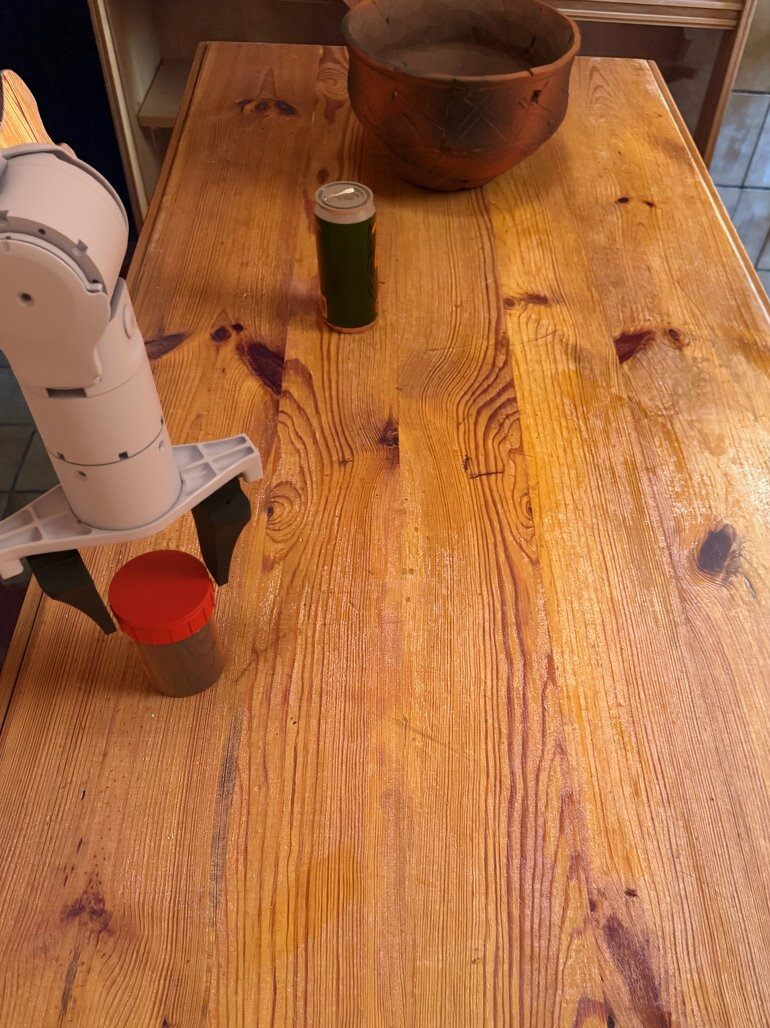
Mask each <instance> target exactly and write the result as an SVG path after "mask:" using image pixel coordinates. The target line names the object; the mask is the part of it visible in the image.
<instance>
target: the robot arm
mask: <svg viewBox="0 0 770 1028" xmlns="http://www.w3.org/2000/svg"><path fill="white" fill-rule="evenodd" d="M128 239H129V220H128V215H127V211H126V208H125V206H124V204H123V202H122V200H121V198H120V196H119V194H118V193H117V192H116V190H115V188H114V187H113V186H112V185H111V184H110V182H109V181H108V180H107V179H106V177H104V176H103V175H102V174H101V173H100V172H99V171H98V170H96V169H95V168H94V167H92V166H91V165H90V164H88V163H87V162H84V161H83V160H81V159H80V158H77V157H76V156H74V155H72V154H71V153H70V152H69V151H67V150H66V149H65V148H63V147H62V146H59V145H56V144H51V143H47V142H46V143H45V142H25V143H19V144H16V145H13V146H10V147H0V351H2V353H3V354H4V356H5V357H6V359H7V361H8V364H9V366H10V368H11V370H12V373H13V375H14V377H15V378H16V381H17V383H18V385H19V387H20V390H21V391H22V394H23V397H24V399H25V402H26V404H27V406H28V408H29V411H30V413H31V416H32V418H33V421H34V423H35V425H36V428H37V430H38V432H39V435H40V437H41V439H42V442H43V445H44V448H45V450H46V452H47V455H48V457H49V460H50V463H51V465H52V467H53V469H54V471H55V473H56V477H57V479H58V481H59V483H58V484H56V485H55V486H54V487H52V488H50V489H49V490H48V491H46V492H45V493H43V494H41V495H39V497H37V498H35V499H33V501H31V502H30V503H28V504H27V505H25V506H24V507H22V508H20V509H19V510H17V511H16V512H14V513H13V514H11V515H10V516H8V517H5V518H4V519H2V520H1V521H0V577H1V579H2V580H7V579H10V578H12V577H15V576H17V575H20V574H21V573H22V572H23V571H24V566H23V563H26V562H27V564H28V566H29V568H30V570H31V572H32V574H33V577H34V578H35V580H36V582H37V584H38V586H39V588H40V589H41V591H42V592H43V593H44V594H45V595H46V596H47V597H49V598H50V599H51V600H52V601H55V602H56V601H57V602H60V603H63V604H66V605H68V606H71V607H72V608H74V609H77V610H78V611H79V612H81V613H83V614H84V615H86V616H87V617H88V618H90V619H91V620H92V621H93V622H95V624H96V625H97V626H98V627H99V628H100V629H101V630H102V632H103V633H104V635H105V636H109V635H111V634H114V633H116V632H118V629H117V625H116V624H115V621H114V620H113V617H112V616H111V614H110V612H109V610H108V608H107V606H106V604H105V603H104V600H103V598H102V597H101V595H100V592H99V591H98V589H97V587H96V584H95V581H94V580H93V579H94V578H93V577H92V575H91V574H90V571H89V570H88V567H87V565H86V564H85V562H84V560H83V557H82V556H81V553H80V552H79V550H78V549H84V548H85V549H86V548H91V547H92V548H93V547H100V546H106V545H115V544H121V543H122V544H123V543H130V542H135V541H139V540H143V539H147V538H149V537H151V536H154V535H156V534H158V533H161V532H162V531H164V530H165V529H166V528H169V526H171V525H172V524H174V523H175V522H176V521H178V520H179V519H180V518H182V517H183V516H184V515H185V514H187V513H188V512H191V515H192V518H193V521H194V525H195V526H194V527H195V530H196V536H197V539H198V545H199V551H200V554H201V558H202V560H203V564H204V566H205V567H206V569H207V571H208V573H209V575H211V578H212V580H214V582H215V583H216V584H217V587H218V588H220V587H222V586H225V585H227V584H228V583H229V581H230V580H229V578H230V568H231V563H232V558H233V554H234V550H235V547H236V545H237V542H238V540H239V537H240V535H241V533H242V532H243V530H244V529H245V527H246V526H247V525H248V523H250V521H251V520H252V505H251V501H250V499H249V498H248V496H247V494H246V493H245V492H244V490H243V489H242V486H241V482H240V481H241V480H240V479H241V478H242V480H243V481H244V483H246V484H251V483H253V482H256V481H259V480H261V479H264V477H265V476H264V471H263V464H262V458H261V453H260V451H259V449H257V447H256V446H255V445H254V443H253V442H252V440H251V439H250V438H249V436H248V435H247V434H246V432H242V433H240V434H237V435H233V436H229V437H226V438H221V439H215V440H209V441H201V442H192V443H184V444H183V443H181V444H175V445H172V442H171V438H170V435H169V431H168V427H167V424H166V421H165V417H164V412H163V408H162V404H161V401H160V396H159V394H158V389H157V386H156V383H155V379H154V378H155V377H154V375H153V371H152V367H151V364H150V360H149V357H148V352H147V349H146V345H145V341H144V338H143V334H142V332H141V330H140V328H139V326H138V323H137V319H136V315H135V311H134V307H133V304H132V300H131V297H130V294H129V293H130V292H129V289H128V286H127V281H126V280H125V279H124V278H122V277H121V276H119V275H120V272H121V269H122V266H123V262H124V259H125V256H126V252H127V250H128V249H127V248H128V242H129V241H128Z"/></svg>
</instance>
